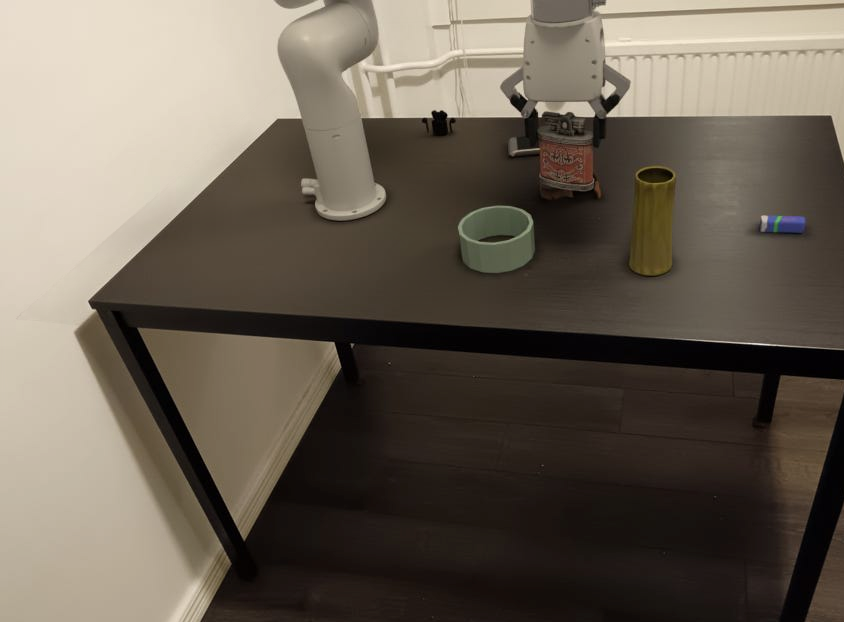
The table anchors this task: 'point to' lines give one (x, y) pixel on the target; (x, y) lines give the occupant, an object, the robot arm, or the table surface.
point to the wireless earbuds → (439, 123)
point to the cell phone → (522, 147)
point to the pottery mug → (563, 190)
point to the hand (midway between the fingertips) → (565, 142)
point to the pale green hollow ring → (497, 253)
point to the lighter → (566, 152)
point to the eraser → (782, 224)
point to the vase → (652, 221)
